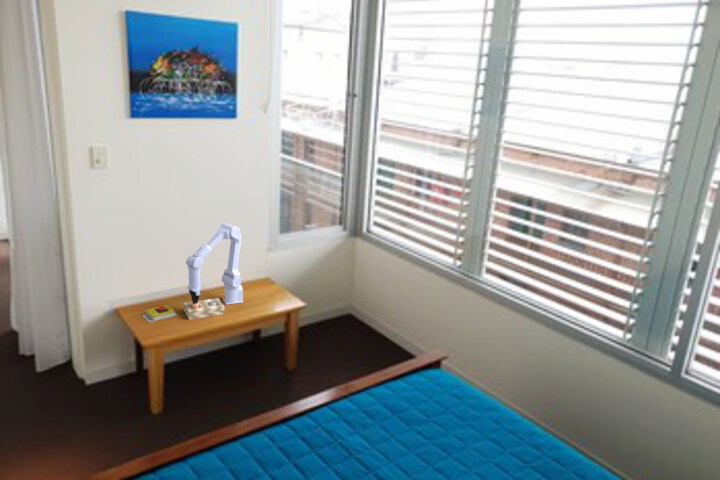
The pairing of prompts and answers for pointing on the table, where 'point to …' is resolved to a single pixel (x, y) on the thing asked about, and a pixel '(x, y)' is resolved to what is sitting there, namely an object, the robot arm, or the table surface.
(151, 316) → the emergency button
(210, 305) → the grey button
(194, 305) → the terracotta button
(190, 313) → the button panel
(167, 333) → the table surface
